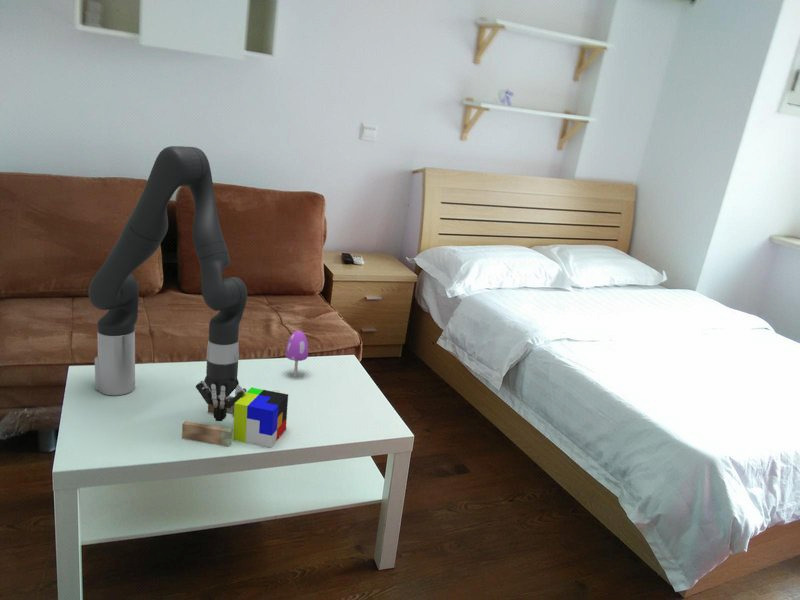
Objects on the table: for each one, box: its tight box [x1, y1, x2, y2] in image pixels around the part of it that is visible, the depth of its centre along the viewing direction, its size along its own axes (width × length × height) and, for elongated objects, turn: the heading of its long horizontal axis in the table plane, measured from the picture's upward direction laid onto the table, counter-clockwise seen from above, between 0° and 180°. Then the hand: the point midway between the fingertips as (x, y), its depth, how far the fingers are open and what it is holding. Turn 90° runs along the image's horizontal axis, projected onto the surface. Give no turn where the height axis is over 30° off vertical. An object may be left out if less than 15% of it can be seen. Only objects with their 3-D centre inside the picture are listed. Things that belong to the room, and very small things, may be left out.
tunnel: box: [181, 396, 235, 447], centre depth 161 cm, size 12×22×4 cm, turn 172°
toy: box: [285, 330, 309, 378], centre depth 193 cm, size 7×7×15 cm
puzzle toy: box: [232, 387, 289, 449], centre depth 157 cm, size 10×10×10 cm
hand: (219, 419), depth 159 cm, fingers closed
